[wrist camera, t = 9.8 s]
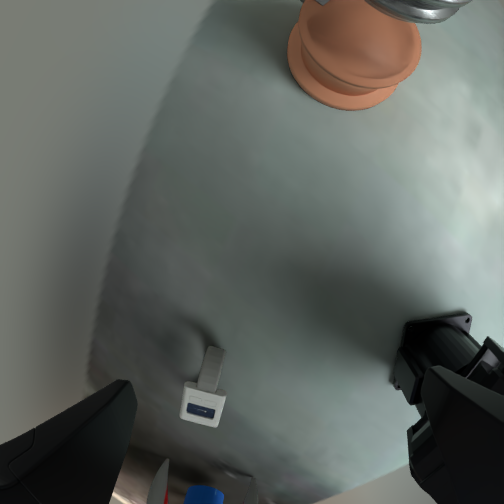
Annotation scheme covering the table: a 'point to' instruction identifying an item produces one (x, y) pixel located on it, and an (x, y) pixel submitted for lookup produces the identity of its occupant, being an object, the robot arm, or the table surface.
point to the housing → (350, 53)
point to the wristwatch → (205, 391)
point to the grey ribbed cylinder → (418, 9)
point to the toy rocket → (192, 491)
